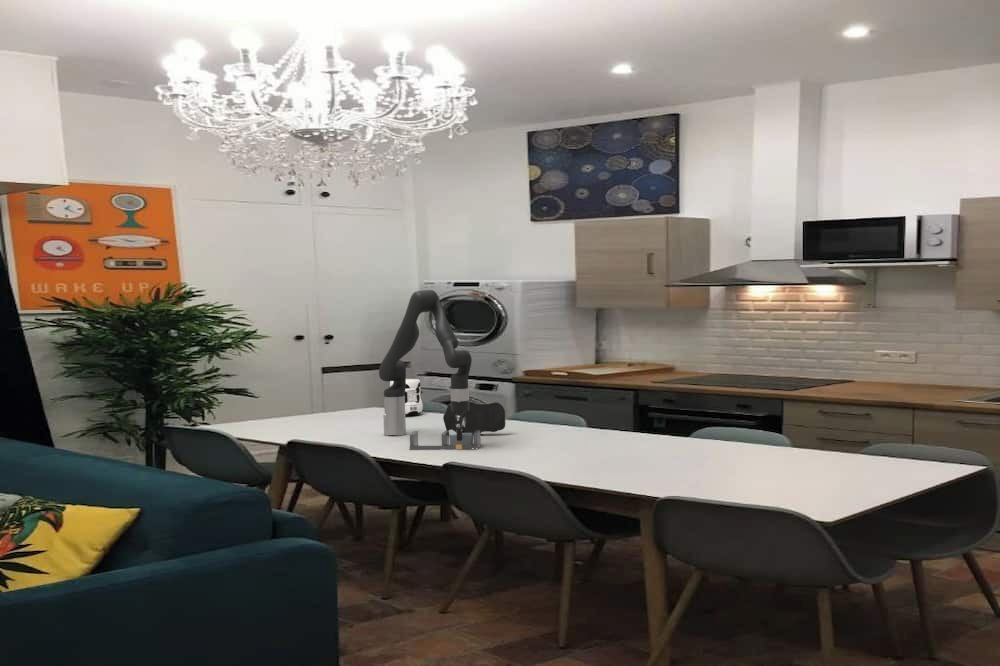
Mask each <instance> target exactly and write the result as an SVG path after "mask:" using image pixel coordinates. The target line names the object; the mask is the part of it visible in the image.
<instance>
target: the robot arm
mask: <svg viewBox="0 0 1000 666" xmlns="http://www.w3.org/2000/svg"><path fill="white" fill-rule="evenodd" d="M429 312H431V314H432V315H433V317H434V318H435V325H434V326H435V327H434V328H435V330H434V333H435V336H436V338H437V341H438V342H439V345H440V346H441V347H442V352H443V355H444V361H445V363H446V365H447V366H448V367H449V368H452V369H458V370H457V371H456V372H455V373H453V374H452V375H451V376H450V404H451V411H453V412H457V415H456V416H455V431H457V441H462V433H465V427H466V411H469V402H470V390H469V376H470V371H471V368H472V362H473V360H472V355H471V353H470V351H468V350H465V349H462V350H455V349H457V348H458V346H459V340H458V337H456V335H455V333H454V331H453V329H452V327H451V326H450V323H449V321H448V318H447V316H446V313H445V310H444V308H443V305H442V302H441V300H440V297H439V295H438V294H437V292H436V291H435V290H433V289H426V290H425V289H422V290H417V291H414V292H412V294H411V296H410V298H409V301H408V304H407V308H406V311H405V314H404V317H403V319H402V321H401V323H400V325H399V328H398V330H397V332H396V334H395V337H394V339H393V341H392V343H391V346H390V348H389V349H388V351H387V353H386V355H385V356H384V358H383V360H381V363H380V365H379V368H378V375H379V378H380V380H381V381H383V382H390V381H394V382H393V385H392V386H391V387H390V386H389V387H388V388H385V389H384V390H383V401H384V402H383V404H384V406H383V407H384V413H383V435H384V436H388V435H399V436H404V435H403V434H405V435H407V431H406V430H407V429H406V428H407V426H406V425H407V423H406V419H407V418H406V416H405V389H406V379H407V370H406V369H407V367H406V364H405V362H404V361H403V360H402V359H403V357H404V356H406V355H407V354H408V353H410V352H411V351H412V349H413V348H414V347H415V346H416V343H417V341H418V339H419V337H420V329H419V326H418V319H419V316H420V315H421V314H423V313H429ZM455 431H454V432H455Z"/></svg>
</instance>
